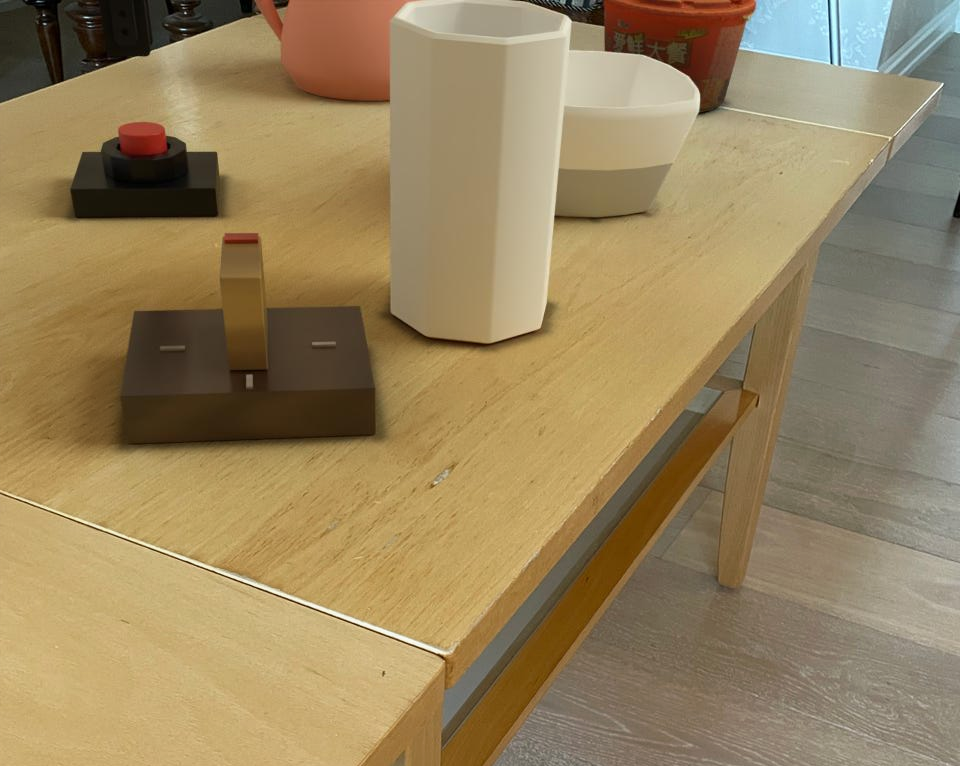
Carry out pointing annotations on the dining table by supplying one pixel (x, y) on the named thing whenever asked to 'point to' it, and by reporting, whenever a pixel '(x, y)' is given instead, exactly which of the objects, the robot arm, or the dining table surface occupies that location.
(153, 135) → the button
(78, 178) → the button block
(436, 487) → the dining table surface
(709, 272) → the dining table surface
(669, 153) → the bowl
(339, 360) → the plate
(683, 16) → the food container
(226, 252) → the lock knob
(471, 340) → the cup
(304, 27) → the teapot
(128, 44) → the robot arm
